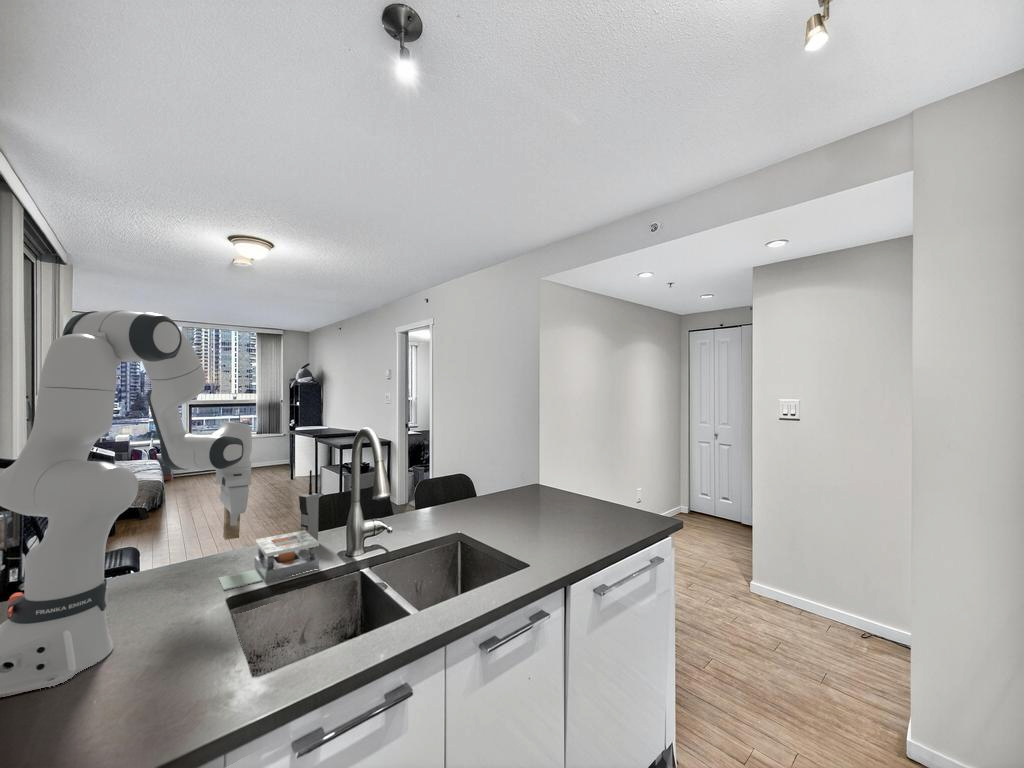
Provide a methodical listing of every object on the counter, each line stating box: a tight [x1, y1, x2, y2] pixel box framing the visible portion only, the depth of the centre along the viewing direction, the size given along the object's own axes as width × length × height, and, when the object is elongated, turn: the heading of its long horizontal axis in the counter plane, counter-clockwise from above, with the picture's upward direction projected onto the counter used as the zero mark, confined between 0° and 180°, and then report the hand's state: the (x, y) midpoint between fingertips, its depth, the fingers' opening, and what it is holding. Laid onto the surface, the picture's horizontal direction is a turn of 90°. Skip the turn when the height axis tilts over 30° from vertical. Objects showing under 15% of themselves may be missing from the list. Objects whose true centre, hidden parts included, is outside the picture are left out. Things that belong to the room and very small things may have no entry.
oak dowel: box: [222, 506, 241, 541], centre depth 133 cm, size 4×4×9 cm
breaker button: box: [278, 542, 295, 563], centre depth 133 cm, size 4×4×4 cm
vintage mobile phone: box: [298, 469, 320, 542], centre depth 153 cm, size 4×5×25 cm
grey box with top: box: [254, 530, 320, 584], centre depth 133 cm, size 14×14×8 cm
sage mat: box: [217, 569, 263, 591], centre depth 124 cm, size 9×9×1 cm
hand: (231, 523), depth 133 cm, fingers closed on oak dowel, 3 cm apart
